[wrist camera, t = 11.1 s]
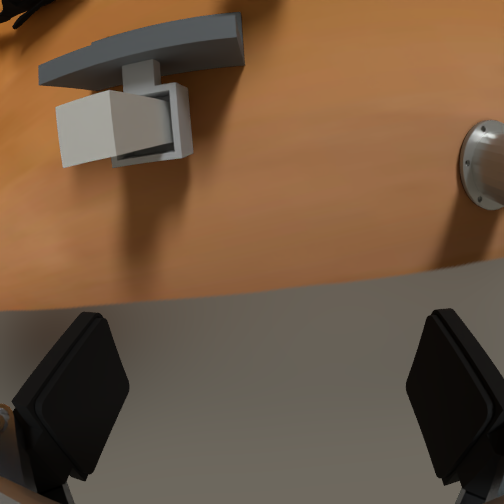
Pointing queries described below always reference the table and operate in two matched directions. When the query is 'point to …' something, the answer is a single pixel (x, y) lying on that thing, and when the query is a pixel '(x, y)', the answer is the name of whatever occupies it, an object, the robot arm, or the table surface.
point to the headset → (20, 10)
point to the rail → (111, 126)
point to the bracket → (153, 70)
